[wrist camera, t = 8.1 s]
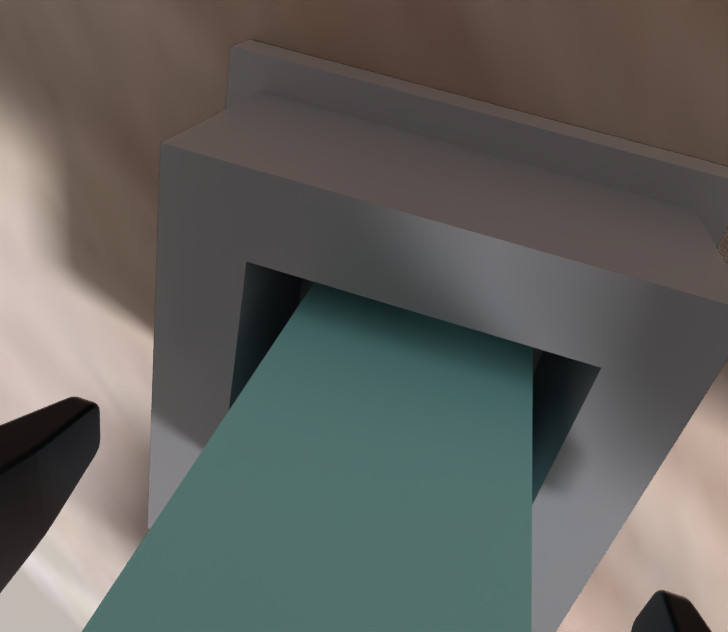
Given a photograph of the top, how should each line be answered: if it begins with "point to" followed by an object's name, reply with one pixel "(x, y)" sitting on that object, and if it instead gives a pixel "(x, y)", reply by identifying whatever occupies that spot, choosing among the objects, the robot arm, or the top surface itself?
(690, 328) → the socket block
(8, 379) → the top surface
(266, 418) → the teal peg
